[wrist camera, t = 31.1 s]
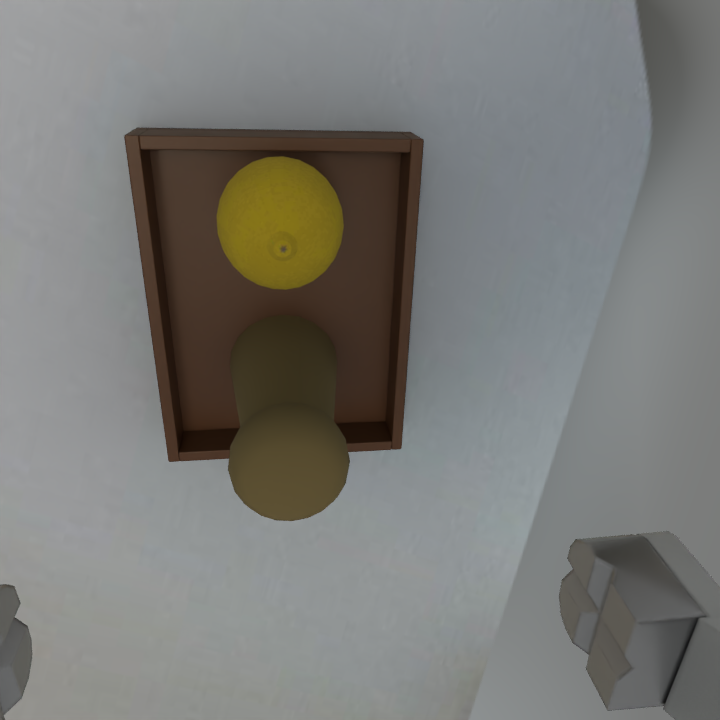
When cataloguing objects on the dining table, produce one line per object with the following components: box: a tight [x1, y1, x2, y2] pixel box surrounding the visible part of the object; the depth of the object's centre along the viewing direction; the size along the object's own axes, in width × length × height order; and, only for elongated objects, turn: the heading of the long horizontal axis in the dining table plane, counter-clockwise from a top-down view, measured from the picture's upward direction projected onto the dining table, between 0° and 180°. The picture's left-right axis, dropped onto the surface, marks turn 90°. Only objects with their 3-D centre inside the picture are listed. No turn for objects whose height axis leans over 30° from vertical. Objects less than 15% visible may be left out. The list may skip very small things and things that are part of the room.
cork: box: [228, 315, 350, 521], centre depth 30 cm, size 6×6×11 cm
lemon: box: [217, 156, 344, 290], centre depth 27 cm, size 6×6×8 cm
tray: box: [124, 128, 424, 462], centre depth 32 cm, size 13×17×3 cm
